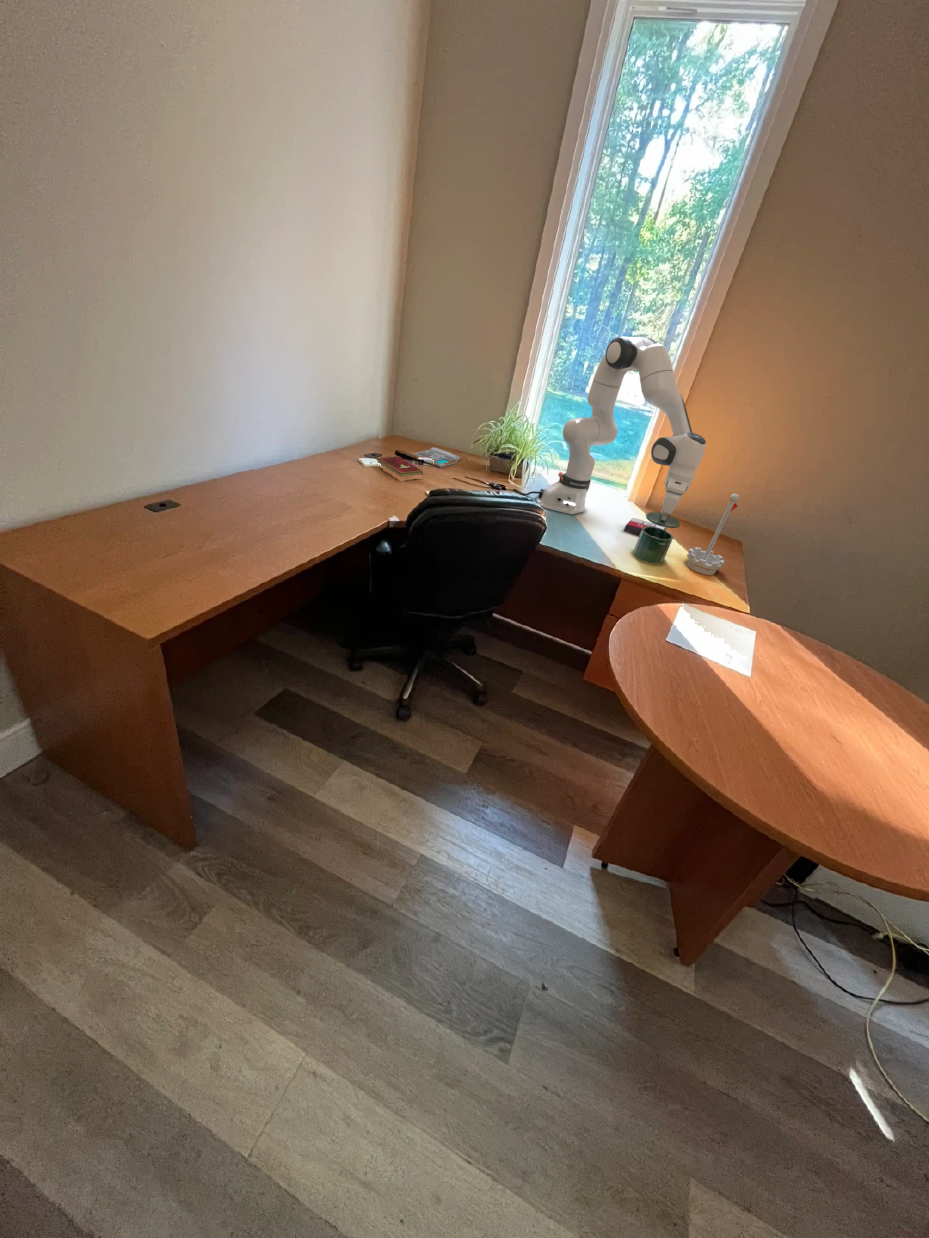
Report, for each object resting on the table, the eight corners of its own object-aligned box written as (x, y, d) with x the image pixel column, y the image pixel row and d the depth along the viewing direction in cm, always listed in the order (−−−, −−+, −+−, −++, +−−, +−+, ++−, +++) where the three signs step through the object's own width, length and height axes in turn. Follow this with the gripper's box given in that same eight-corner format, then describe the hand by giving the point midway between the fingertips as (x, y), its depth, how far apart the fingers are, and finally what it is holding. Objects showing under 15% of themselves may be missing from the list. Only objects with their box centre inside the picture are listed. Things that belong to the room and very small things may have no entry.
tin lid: (649, 526, 177) (654, 513, 174) (641, 513, 188) (646, 500, 185) (683, 531, 177) (689, 518, 174) (673, 518, 188) (679, 505, 185)
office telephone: (435, 445, 264) (465, 456, 256) (434, 450, 266) (465, 460, 258) (408, 452, 247) (440, 463, 239) (407, 457, 249) (439, 468, 241)
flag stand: (705, 578, 183) (742, 502, 166) (677, 561, 192) (709, 488, 175) (725, 573, 190) (763, 499, 173) (697, 557, 198) (730, 486, 181)
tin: (637, 565, 184) (647, 540, 178) (628, 545, 198) (637, 521, 192) (667, 570, 184) (678, 545, 178) (656, 550, 198) (666, 526, 192)
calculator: (632, 516, 215) (667, 526, 210) (629, 525, 218) (663, 535, 212) (626, 523, 207) (661, 533, 201) (623, 533, 209) (658, 543, 204)
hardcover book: (398, 463, 238) (398, 455, 236) (422, 479, 226) (423, 470, 224) (376, 466, 231) (376, 457, 229) (400, 481, 219) (401, 472, 217)
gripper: (671, 472, 183) (658, 507, 190) (666, 486, 167) (651, 524, 175) (689, 477, 181) (674, 512, 189) (685, 492, 165) (669, 529, 173)
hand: (663, 518), depth 181 cm, fingers closed on tin lid, 2 cm apart
